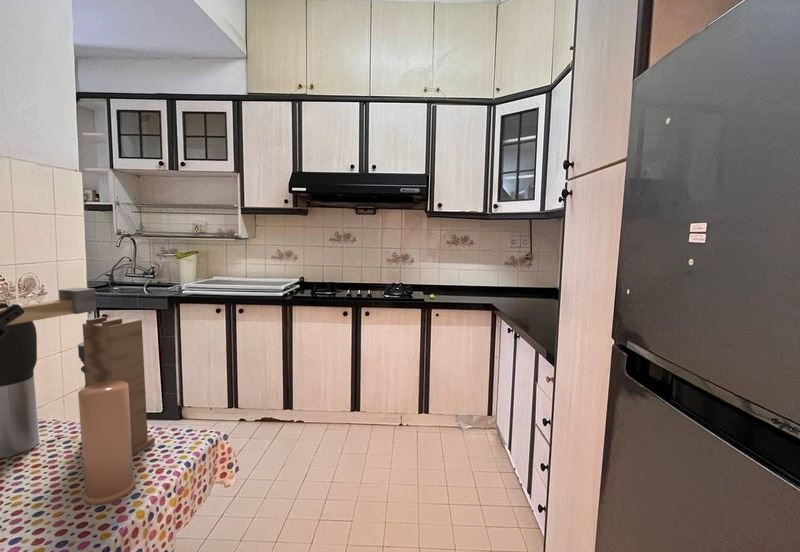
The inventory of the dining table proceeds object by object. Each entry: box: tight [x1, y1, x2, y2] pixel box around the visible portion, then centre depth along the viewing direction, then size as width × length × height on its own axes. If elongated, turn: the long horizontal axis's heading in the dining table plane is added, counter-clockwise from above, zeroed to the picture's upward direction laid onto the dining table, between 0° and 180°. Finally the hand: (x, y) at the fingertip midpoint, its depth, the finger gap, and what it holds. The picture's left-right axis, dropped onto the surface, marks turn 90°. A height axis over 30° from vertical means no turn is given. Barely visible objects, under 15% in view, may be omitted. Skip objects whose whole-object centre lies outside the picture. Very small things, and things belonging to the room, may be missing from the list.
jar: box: [77, 381, 136, 506], centre depth 80 cm, size 9×9×22 cm
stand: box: [82, 316, 156, 458], centre depth 94 cm, size 10×10×33 cm
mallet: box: [0, 286, 97, 325], centre depth 77 cm, size 5×19×5 cm, turn 164°
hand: (13, 307), depth 74 cm, fingers closed on mallet, 2 cm apart
